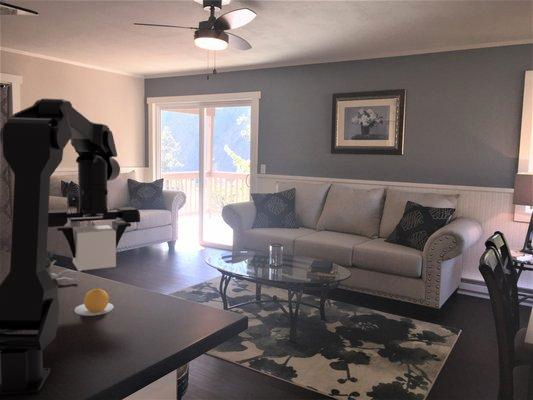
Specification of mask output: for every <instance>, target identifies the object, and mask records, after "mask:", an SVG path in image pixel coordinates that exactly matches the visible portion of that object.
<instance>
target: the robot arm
mask: <svg viewBox="0 0 533 400" xmlns="http://www.w3.org/2000/svg"><path fill="white" fill-rule="evenodd" d="M69 141H70V145H71V146H72V147H73V148H74V151H75V153H77V155H78V156H77V157H76V159H75V163H77V172H78V174H77V175H78V176H77V177H78V179H77V182H78V183H77V185H78V189H77V190H78V194H77V193H76V192H75V193H74V192H73V193H67V194H66V207H67V209H68V210H71V209H74V210H75V209H76V210H75V211H76V212H67V211H66V210H65V209H50V206H49V205H50V186H51V183H50V182H51V177H52V176H53V174H54V173H55V171H57V169H58V167H59V166H60V164H61V163H62V161H63V157H64V156H63V155H64V149H65V147H66V146H67V144H68V143H69ZM0 143H1V147H2V150H1V151H2V156H3V159H4V160H5V162H6V163H7V166H8V167H9V168H10V170H11V171H12V173H13V194H12V209H11V210H12V212H11V213H12V214H11V215H12V216H11V234H10V235H11V236H10V255H9V271H8V273H7V275H6V276H5V277H4V279H3V280H2V281H1V283H0V396H6V395H8V396H9V395H19V394H21V395H22V394H32V393H33V394H35V393H38V392H40V390H41V388H42V387H43V385H44V383H45V381H46V380H47V378H48V377H49V374H50V373H51V367H43V364H44V363H43V350H44V349H45V348H47V346H48V345H50V343H51V342H52V341H54V340H55V339H56V335H57V329H58V321H59V315H60V314H59V313H60V303H59V300H58V294H59V291H58V290H59V284H58V282H57V280H56V279H52V278H51V277H50V275H49V274H48V272H47V270H46V256H47V248H48V230H49V229H48V228H55V230H56V231H58V232H62V233H63V234H62V235H64V237H65V240H66V242H67V245H68V248H69V250H70V253H71V256H72V259H73V258H75V255H76V250H75V242H74V234H73V227H74V226H72V225H71V224H72V222H91V221H92V222H93V221H110V220H111V225H112V226H111V228H113V229H114V230H115V231H116V249H117V248H118V245H119V243H120V240H121V238H122V236H123V235H124V233H125V231H126V230H127V228H129V227H132V223H133V224H134V223H140V222H141V212H140V210H138V208H135V207H133V206H127V207H126V206H125V207H122V206H120V207H116V210H114V211H113V210H112V211H109V210H108V192H109V191H108V182H111V181H113V180H116V179H117V178H118V176H119V175H120V172H121V167H120V166H121V165H120V164H119V162H118V161H117V160H116V159H115V158H117V157H118V153H117V152H118V151H117V149H116V148H117V147H116V143H115V139H114V134H113V132H112V130H111V129H110V128H109V125H107V124H103V123H100V122H92V121H90V120H89V119H88V118H87V117H85V116H84V115H83V114H82V113H81V112H80V111H78V110H77V109H75V108H74V107H73V105H72V102H71V101H70V100H69V101H68V100H66V99H64V98H63V99H62V98H41V99H38V100H36V101H35V102H34V104H32V105H31V106H29V107H26V108H24V109H21V110H19V111H18V112H16V113H13V114H12V115H11V116H10V117H9V119H8V120H7V121H6V122H4V123H3V124H2V127H1V129H0ZM7 330H8V331H37V332H5V331H7Z"/></svg>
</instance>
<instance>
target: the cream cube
mask: <svg viewBox="0 0 533 400" xmlns="http://www.w3.org/2000/svg"><path fill="white" fill-rule="evenodd" d="M72 227H73V234H74V242H75V250H76V255H75V258H73V257H72V264H73V265H74V266H75V268H76V269H77V271H80V270H81V271H87V270H98V269H106V268H107V269H108V268H116V267H117V248H116V231H115V230H114V229H113V228H112V226H110V225H109V224H106V225H89V226H72Z"/></svg>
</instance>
